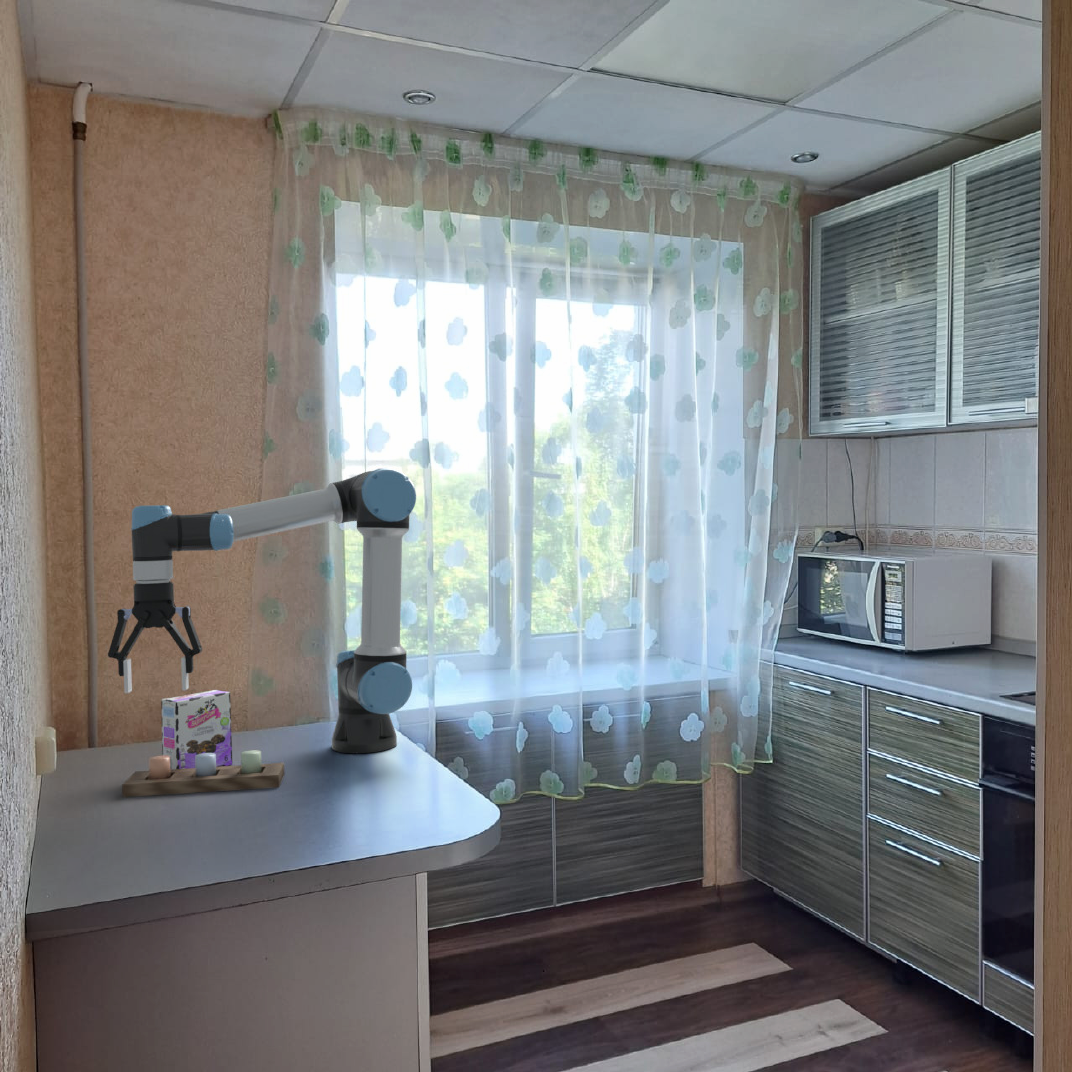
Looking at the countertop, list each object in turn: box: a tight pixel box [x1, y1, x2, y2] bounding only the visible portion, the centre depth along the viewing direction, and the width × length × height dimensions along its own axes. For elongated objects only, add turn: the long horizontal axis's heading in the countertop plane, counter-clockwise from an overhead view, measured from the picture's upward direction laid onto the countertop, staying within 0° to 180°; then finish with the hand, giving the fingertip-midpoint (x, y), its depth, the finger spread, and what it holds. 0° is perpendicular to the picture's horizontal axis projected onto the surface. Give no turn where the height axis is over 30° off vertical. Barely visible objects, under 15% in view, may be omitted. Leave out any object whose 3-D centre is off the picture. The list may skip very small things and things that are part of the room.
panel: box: [121, 762, 286, 798], centre depth 199 cm, size 30×10×2 cm, turn 98°
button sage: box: [240, 749, 262, 774], centre depth 200 cm, size 4×4×4 cm
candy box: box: [160, 689, 233, 769], centre depth 212 cm, size 14×6×16 cm, turn 143°
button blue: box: [195, 753, 216, 777], centre depth 199 cm, size 4×4×4 cm
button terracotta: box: [148, 754, 171, 780], centre depth 198 cm, size 4×4×4 cm
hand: (156, 690), depth 197 cm, fingers open, 10 cm apart
